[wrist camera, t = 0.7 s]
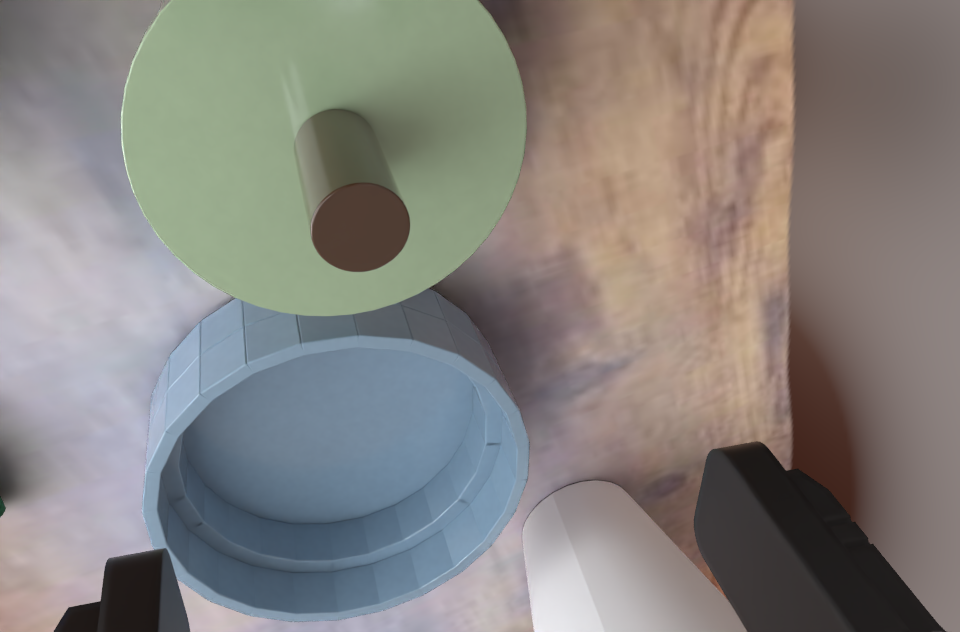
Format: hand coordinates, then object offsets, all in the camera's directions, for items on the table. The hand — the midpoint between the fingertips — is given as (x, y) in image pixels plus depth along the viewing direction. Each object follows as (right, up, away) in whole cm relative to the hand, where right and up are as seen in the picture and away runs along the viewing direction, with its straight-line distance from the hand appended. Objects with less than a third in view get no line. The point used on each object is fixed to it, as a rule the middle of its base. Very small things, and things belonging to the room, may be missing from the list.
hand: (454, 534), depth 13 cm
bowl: (-7, -1, +28) cm, 29 cm away
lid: (-4, +8, +12) cm, 15 cm away
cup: (+6, -9, +38) cm, 39 cm away
